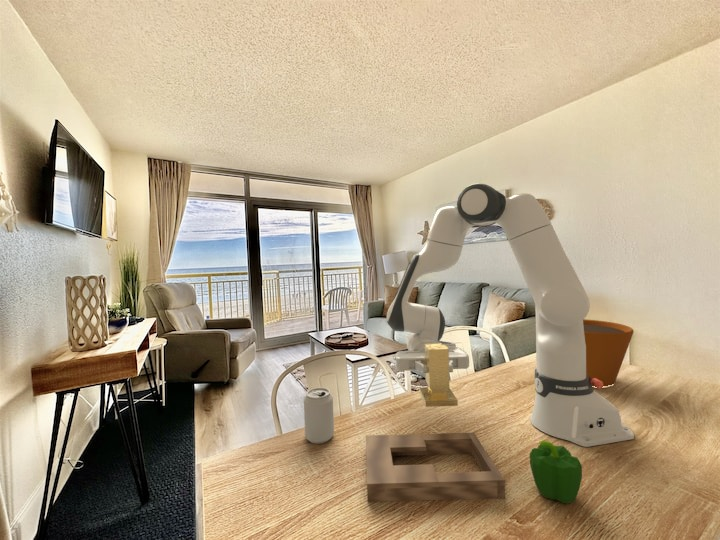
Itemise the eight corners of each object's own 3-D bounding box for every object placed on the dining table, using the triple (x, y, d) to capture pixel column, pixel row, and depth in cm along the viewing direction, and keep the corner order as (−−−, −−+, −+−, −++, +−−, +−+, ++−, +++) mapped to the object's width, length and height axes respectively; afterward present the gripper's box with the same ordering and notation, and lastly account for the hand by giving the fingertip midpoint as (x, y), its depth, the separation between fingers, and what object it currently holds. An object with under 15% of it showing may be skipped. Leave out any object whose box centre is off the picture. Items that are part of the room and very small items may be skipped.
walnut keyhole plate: (474, 446, 74) (473, 432, 74) (505, 498, 58) (505, 480, 58) (366, 449, 74) (365, 435, 74) (367, 501, 58) (367, 483, 58)
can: (329, 447, 76) (327, 398, 75) (300, 444, 77) (298, 397, 77) (337, 430, 83) (336, 386, 83) (311, 428, 85) (309, 385, 84)
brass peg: (448, 392, 85) (447, 341, 84) (457, 405, 77) (456, 350, 76) (419, 392, 85) (418, 342, 84) (425, 406, 77) (424, 351, 76)
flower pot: (604, 400, 95) (604, 336, 95) (535, 374, 118) (535, 322, 117) (649, 386, 104) (649, 328, 103) (578, 365, 126) (577, 316, 126)
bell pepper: (578, 486, 61) (578, 436, 60) (585, 517, 53) (585, 460, 53) (530, 473, 65) (529, 426, 64) (530, 500, 57) (529, 447, 57)
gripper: (391, 344, 93) (397, 359, 79) (459, 342, 93) (476, 356, 79) (392, 365, 94) (397, 383, 80) (459, 362, 93) (477, 380, 80)
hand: (437, 369), depth 80 cm, fingers closed on brass peg, 5 cm apart
